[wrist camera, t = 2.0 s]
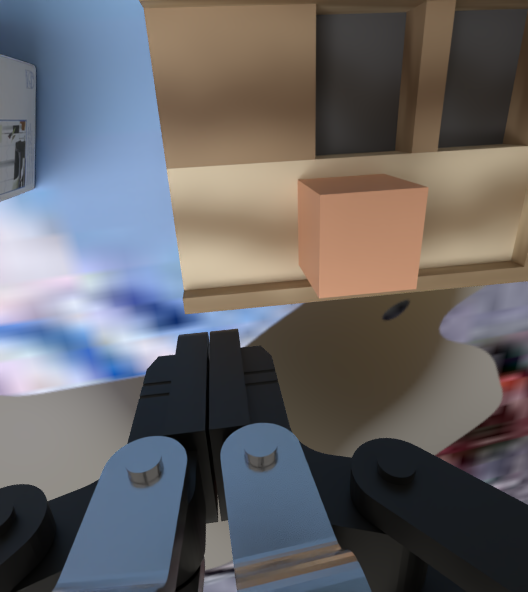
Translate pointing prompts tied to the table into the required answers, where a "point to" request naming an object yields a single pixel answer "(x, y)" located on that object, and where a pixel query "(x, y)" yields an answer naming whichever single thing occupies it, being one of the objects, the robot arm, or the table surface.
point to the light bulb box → (17, 127)
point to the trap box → (339, 132)
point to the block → (360, 233)
